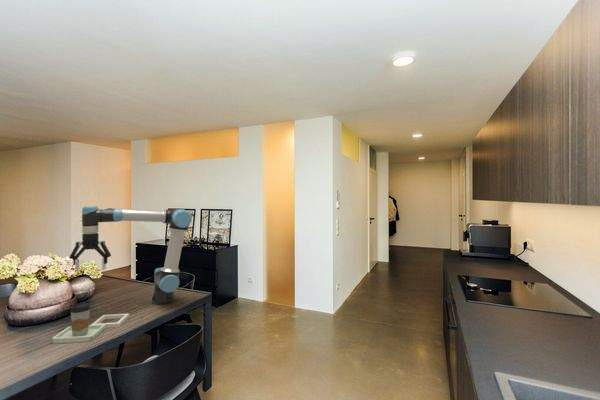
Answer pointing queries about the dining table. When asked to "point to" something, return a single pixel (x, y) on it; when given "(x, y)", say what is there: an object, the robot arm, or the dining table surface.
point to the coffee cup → (80, 319)
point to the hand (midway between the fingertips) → (90, 270)
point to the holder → (112, 316)
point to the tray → (68, 337)
